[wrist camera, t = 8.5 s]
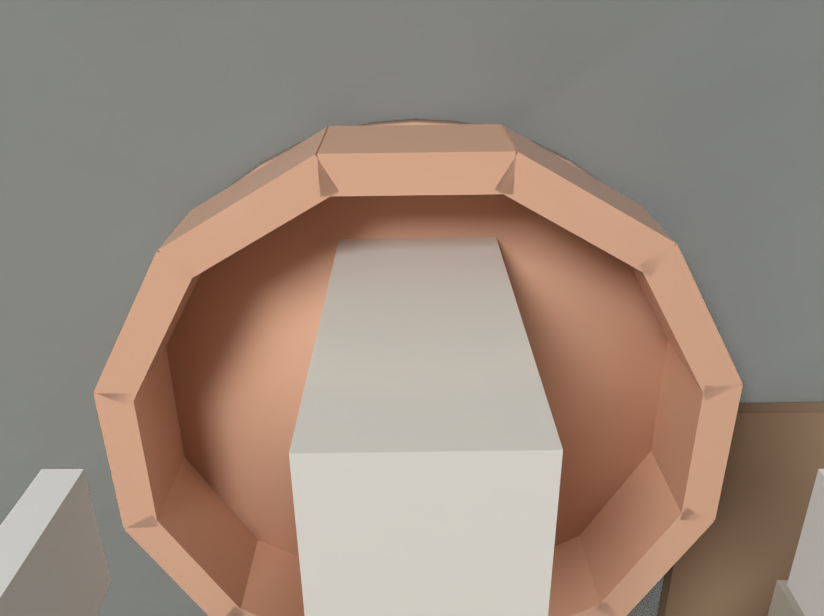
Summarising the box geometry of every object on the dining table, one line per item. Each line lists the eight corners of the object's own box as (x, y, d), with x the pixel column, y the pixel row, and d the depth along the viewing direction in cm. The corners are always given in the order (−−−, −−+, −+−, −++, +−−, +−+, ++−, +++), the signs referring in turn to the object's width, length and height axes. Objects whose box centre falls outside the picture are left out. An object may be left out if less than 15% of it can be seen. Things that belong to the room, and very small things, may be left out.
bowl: (726, 115, 21) (791, 147, 17) (649, 582, 28) (683, 671, 24) (101, 122, 21) (40, 157, 17) (187, 588, 28) (157, 679, 24)
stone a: (495, 236, 21) (562, 449, 12) (490, 384, 23) (544, 660, 14) (339, 239, 21) (289, 453, 12) (346, 386, 23) (309, 664, 14)
